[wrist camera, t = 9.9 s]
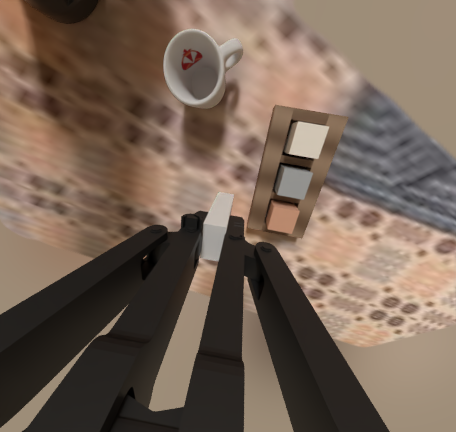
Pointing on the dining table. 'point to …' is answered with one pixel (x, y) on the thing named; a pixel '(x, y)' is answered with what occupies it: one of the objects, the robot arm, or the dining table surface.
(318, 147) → the cream key
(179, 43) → the cup
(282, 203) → the terracotta key
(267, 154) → the key block
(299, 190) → the slate key
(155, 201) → the dining table surface
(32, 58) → the dining table surface
